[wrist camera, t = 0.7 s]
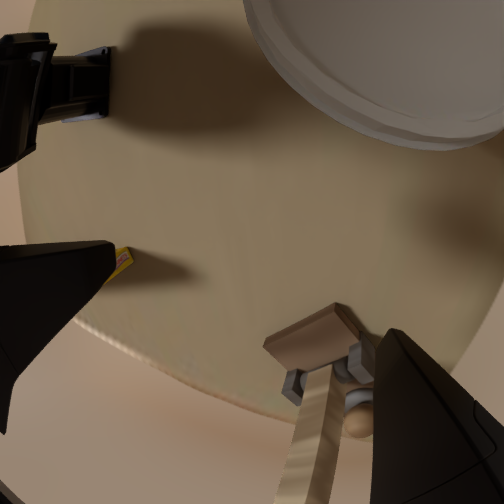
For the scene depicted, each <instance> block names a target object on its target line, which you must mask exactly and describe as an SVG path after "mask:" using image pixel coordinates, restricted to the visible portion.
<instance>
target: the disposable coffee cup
mask: <svg viewBox="0 0 504 504" xmlns="http://www.w3.org/2000/svg"><path fill="white" fill-rule="evenodd" d="M243 3H244V8H245V12H246V17H247V21H248V24H249V26H250V28H251V31H252V33H253V35H254V38H255V40H256V42H257V43H258V45H259V47H260V48H261V50H262V52H263V53H264V55H265V57H266V59H267V60H268V61H269V62H270V64H271V65H272V66H273V67H274V68H275V70H276V71H277V72H278V73H279V75H280V76H281V77H282V78H283V79H284V80H285V81H286V82H287V83H288V84H289V85H290V86H291V87H292V88H293V89H294V90H295V91H296V92H297V93H299V94H300V95H301V96H302V97H303V98H305V99H306V100H307V101H308V102H309V103H310V104H311V105H313V106H314V107H316V108H318V109H319V110H321V111H322V112H324V113H325V114H327V115H328V116H330V117H331V118H333V119H334V120H336V121H337V122H339V123H341V124H343V125H345V126H347V127H349V128H351V129H353V130H355V131H357V132H359V133H361V134H363V135H366V136H369V137H372V138H375V139H378V140H381V141H384V142H387V143H390V144H393V145H396V146H402V147H407V148H413V149H419V150H442V151H448V150H454V149H459V148H466V147H471V146H474V145H476V144H479V143H481V142H484V141H486V140H489V139H491V138H493V137H495V136H496V135H497V134H498V133H500V132H501V131H502V130H504V0H243Z"/></svg>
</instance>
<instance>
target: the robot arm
mask: <svg viewBox="0 0 504 504" xmlns="http://www.w3.org/2000/svg"><path fill="white" fill-rule="evenodd" d="M57 44H58V43H52V42H50V40H49V35H48V33H44V32H32V33H17V34H7V35H4V36H3V37H2V38H1V39H0V173H1V172H3V171H5V170H6V169H8V168H9V167H10V166H12V165H13V164H15V163H16V162H18V161H19V160H21V159H22V158H24V157H25V156H27V155H28V154H30V153H31V152H33V151H35V150H36V135H37V128H38V125H42V124H46V123H50V122H55V121H59V120H61V122H62V123H65V122H73V121H81V120H90V119H100V118H105V117H107V115H108V94H109V69H110V54H111V49H110V47H106V46H104V47H100V48H97V49H94V50H90V51H87V52H84V53H81V54H78V55H75V56H53V53H54V50H56V47H57ZM104 52H105V53H104ZM102 111H103V114H102ZM116 266H117V262H116V252H115V245H114V244H113V243H111V242H109V241H106V240H96V241H77V242H59V243H43V244H27V245H12V246H9V245H6V246H0V432H1V433H2V434H3V435H5V433H6V429H7V421H8V413H9V406H10V400H11V394H12V389H13V386H14V383H15V381H16V380H17V378H18V377H19V375H20V374H21V373H22V372H23V371H24V370H25V369H26V368H27V366H28V365H29V364H30V363H31V362H32V361H33V360H34V358H35V357H36V356H37V355H38V354H39V353H40V352H41V351H42V350H43V349H44V347H45V346H46V345H47V344H48V343H49V342H50V341H51V340H52V339H53V338H54V337H55V336H56V335H57V333H58V332H59V331H60V330H61V329H62V328H63V327H64V326H65V325H66V324H67V323H68V322H69V321H70V320H71V319H72V318H73V317H74V316H75V315H76V314H77V313H78V312H79V311H80V310H81V309H82V308H83V307H84V306H85V305H86V304H87V303H88V302H89V301H90V300H91V299H92V298H93V296H94V295H95V294H96V293H97V292H98V290H99V289H100V288H101V287H102V286H103V284H104V283H105V282H106V281H107V280H108V279H109V277H110V276H111V275H112V274H113V273H114V271H115V269H116ZM0 504H25V503H24V502H23V501H21V500H20V499H19V498H18V497H17V496H16V495H15V494H14V493H13V492H12V491H11V490H10V489H9V488H8V487H7V486H6V485H5V484H4V483H3V482H2V481H1V480H0ZM370 504H504V426H502V425H501V424H500V423H499V422H498V421H497V420H496V419H495V418H494V417H493V416H492V415H491V414H490V413H489V412H488V411H487V410H486V409H485V408H484V407H483V406H482V405H480V403H479V402H478V401H477V400H474V398H473V397H472V396H471V395H470V394H469V393H468V392H467V391H466V390H465V389H464V388H463V387H462V386H460V384H459V383H458V382H457V381H456V380H455V379H454V378H452V377H451V376H450V375H449V374H448V373H447V372H446V371H445V370H444V369H443V368H442V367H441V366H440V365H439V364H438V363H437V362H436V361H435V360H434V359H432V358H431V357H430V356H429V355H428V354H427V353H426V352H425V351H424V350H423V349H422V348H421V347H420V346H418V345H417V344H416V343H415V342H414V341H413V340H412V339H411V338H410V337H409V336H408V335H406V334H405V333H404V332H403V331H401V330H398V329H394V328H391V329H389V330H388V331H387V333H386V335H385V336H384V338H383V339H382V341H381V343H380V344H379V346H378V348H377V351H376V356H375V371H374V383H373V462H372V482H371V494H370Z"/></svg>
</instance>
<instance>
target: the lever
mask: <svg viewBox="0 0 504 504" xmlns="http://www.w3.org/2000/svg"><path fill="white" fill-rule="evenodd" d="M347 369H348V357H347V356H345V357H343V358H340V359H338V360H336V361H333V362H331V363H328V364H326V365H324V366H321V367H319V368H316V369H313V370H311V371H308V372H306V373H303V374H302V375H301V378H300V383H301V387H302V389H303V391H304V394H303V399H302V403H301V407H300V411H299V415H298V419H297V423H296V427H295V431H294V435H293V439H292V442H291V446H290V450H289V453H288V457H287V461H286V464H285V467H284V471H283V474H282V477H281V481H280V484H279V487H278V490H277V493H276V497H275V500H274V503H273V504H328V503H329V499H330V494H331V490H332V484H333V480H334V475H335V469H336V464H337V458H338V451H339V446H340V439H341V432H342V425H343V417H344V409H345V400H346V390H347V382H350V381H353V380H355V377H354V376H353V375H352V374H351V373H350V372H349V371H348V370H347Z"/></svg>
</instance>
